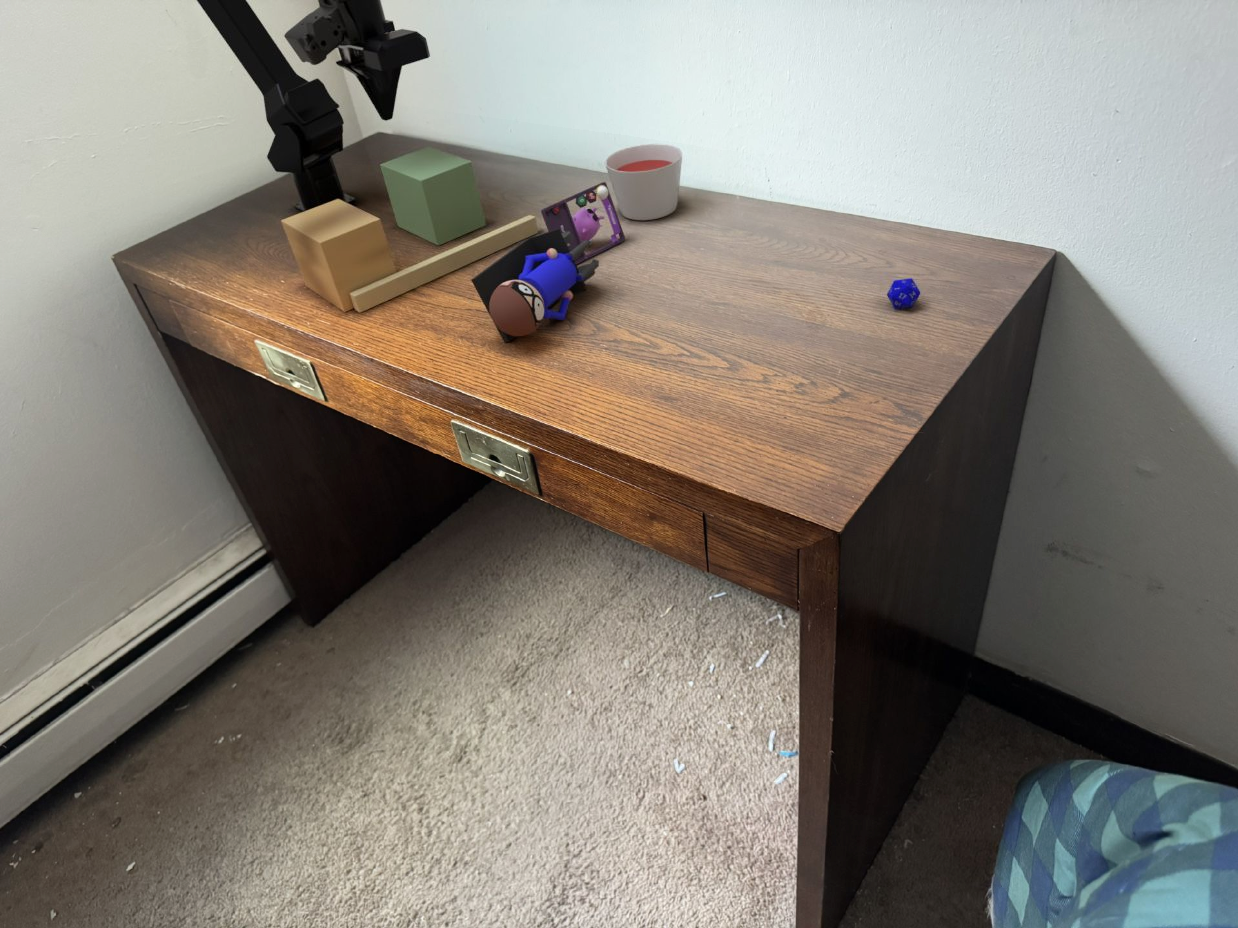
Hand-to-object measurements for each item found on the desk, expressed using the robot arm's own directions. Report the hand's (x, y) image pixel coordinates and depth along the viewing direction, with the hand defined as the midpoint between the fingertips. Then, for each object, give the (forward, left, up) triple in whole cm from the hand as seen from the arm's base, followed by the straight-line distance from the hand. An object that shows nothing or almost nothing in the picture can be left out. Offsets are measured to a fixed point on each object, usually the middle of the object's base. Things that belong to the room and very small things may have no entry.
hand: (387, 119), depth 106 cm
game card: (+28, +6, -12) cm, 31 cm away
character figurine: (+37, -6, -12) cm, 39 cm away
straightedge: (+19, -6, -12) cm, 23 cm away
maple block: (+13, -15, -12) cm, 24 cm away
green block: (+7, 0, -12) cm, 14 cm away
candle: (+26, +18, -12) cm, 34 cm away
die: (+63, +16, -12) cm, 66 cm away
